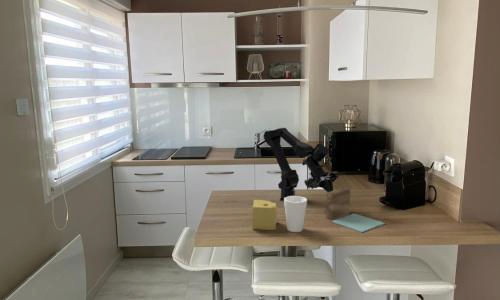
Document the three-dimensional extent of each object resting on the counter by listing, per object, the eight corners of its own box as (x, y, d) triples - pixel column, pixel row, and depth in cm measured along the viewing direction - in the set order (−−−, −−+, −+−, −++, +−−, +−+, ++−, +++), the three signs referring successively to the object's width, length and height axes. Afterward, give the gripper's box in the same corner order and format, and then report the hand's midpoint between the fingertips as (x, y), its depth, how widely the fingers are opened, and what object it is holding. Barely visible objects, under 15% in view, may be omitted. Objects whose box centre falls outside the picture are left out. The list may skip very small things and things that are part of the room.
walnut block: (326, 218, 179) (326, 192, 177) (343, 212, 186) (344, 188, 184) (332, 220, 176) (333, 194, 174) (349, 214, 183) (350, 189, 181)
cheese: (277, 222, 174) (277, 200, 172) (276, 231, 163) (276, 207, 162) (253, 221, 175) (253, 199, 173) (251, 230, 164) (251, 207, 163)
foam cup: (292, 235, 159) (293, 204, 156) (279, 227, 166) (279, 198, 164) (310, 230, 164) (311, 200, 161) (296, 223, 171) (297, 194, 169)
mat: (331, 221, 174) (331, 220, 174) (354, 214, 184) (354, 213, 183) (362, 232, 161) (362, 231, 161) (384, 223, 171) (384, 223, 171)
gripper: (319, 174, 200) (335, 200, 193) (292, 179, 188) (309, 207, 182) (331, 161, 192) (349, 187, 186) (305, 166, 181) (322, 194, 174)
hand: (332, 194), depth 182 cm, fingers closed
